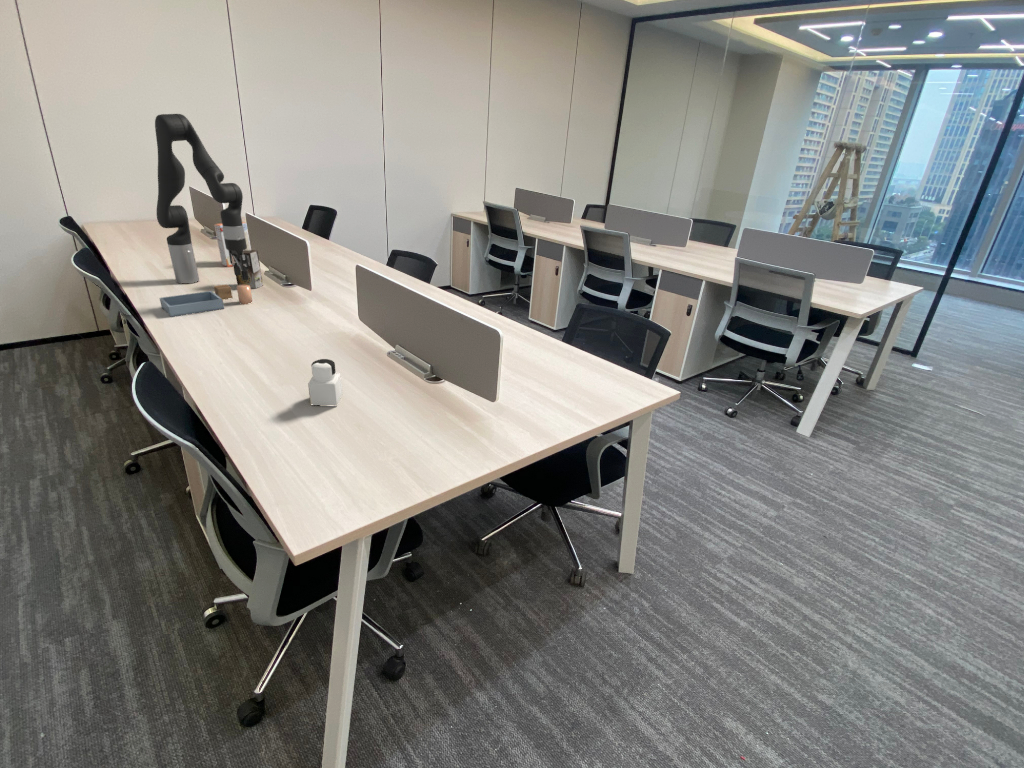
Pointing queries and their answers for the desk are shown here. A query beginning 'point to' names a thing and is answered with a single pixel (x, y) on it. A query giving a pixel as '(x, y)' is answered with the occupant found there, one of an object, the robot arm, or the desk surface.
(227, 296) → the walnut cube
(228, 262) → the cracker box
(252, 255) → the coffee box
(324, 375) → the white blocky figurine
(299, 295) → the desk surface
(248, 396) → the desk surface
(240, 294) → the tan capsule
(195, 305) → the tote
